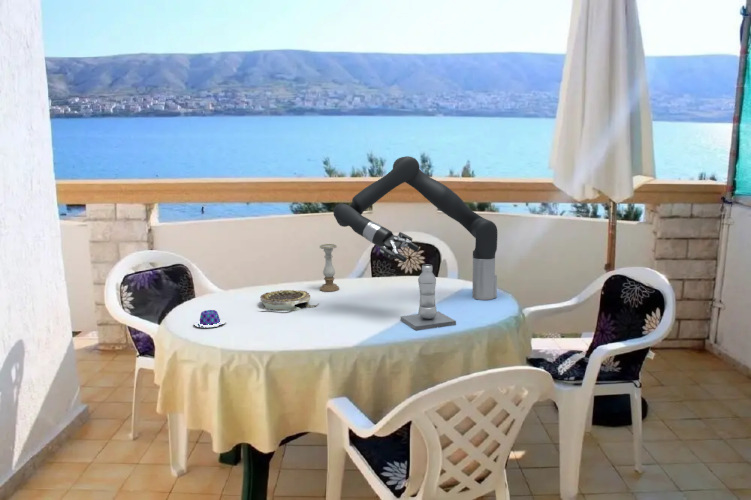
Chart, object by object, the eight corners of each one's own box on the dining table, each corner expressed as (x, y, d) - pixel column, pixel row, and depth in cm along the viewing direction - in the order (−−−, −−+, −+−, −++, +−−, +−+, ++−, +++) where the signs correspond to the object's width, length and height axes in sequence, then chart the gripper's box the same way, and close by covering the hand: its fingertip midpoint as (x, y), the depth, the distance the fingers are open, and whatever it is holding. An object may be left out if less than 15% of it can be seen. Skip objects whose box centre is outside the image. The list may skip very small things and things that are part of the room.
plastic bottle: (435, 321, 236) (435, 267, 232) (417, 320, 237) (416, 267, 233) (437, 316, 242) (437, 263, 238) (419, 315, 243) (419, 263, 240)
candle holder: (343, 288, 294) (341, 244, 290) (331, 292, 287) (330, 247, 283) (327, 286, 299) (326, 243, 295) (315, 290, 292) (314, 246, 288)
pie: (239, 310, 263) (238, 298, 262) (274, 295, 288) (273, 284, 287) (300, 316, 252) (299, 304, 251) (330, 300, 277) (330, 289, 276)
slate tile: (438, 315, 249) (438, 311, 248) (456, 324, 236) (456, 320, 235) (400, 320, 243) (400, 316, 243) (415, 330, 230) (415, 326, 230)
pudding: (188, 324, 244) (187, 311, 243) (218, 318, 251) (217, 305, 250) (200, 332, 235) (199, 318, 234) (231, 325, 242) (230, 312, 241)
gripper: (368, 235, 242) (403, 255, 236) (389, 219, 251) (424, 238, 246) (365, 250, 246) (399, 271, 241) (386, 234, 256) (420, 253, 250)
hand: (412, 254), depth 243 cm, fingers open, 8 cm apart
